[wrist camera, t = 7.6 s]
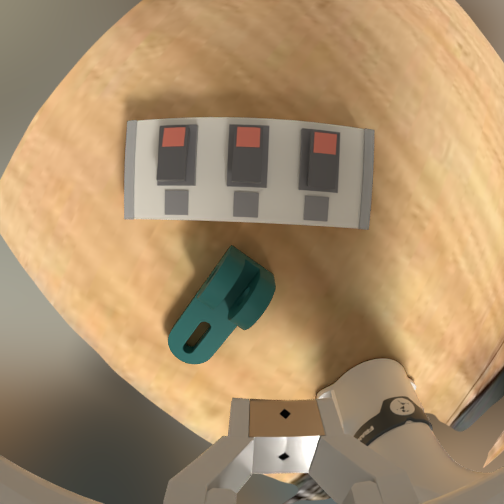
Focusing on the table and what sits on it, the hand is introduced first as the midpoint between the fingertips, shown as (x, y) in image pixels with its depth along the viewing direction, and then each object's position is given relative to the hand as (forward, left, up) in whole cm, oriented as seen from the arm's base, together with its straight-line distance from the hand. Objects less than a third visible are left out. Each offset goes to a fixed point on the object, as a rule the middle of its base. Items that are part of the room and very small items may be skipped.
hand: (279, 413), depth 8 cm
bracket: (-11, +6, -32) cm, 34 cm away
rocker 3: (+10, -6, -25) cm, 27 cm away
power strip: (+8, +2, -31) cm, 32 cm away
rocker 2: (+10, +2, -25) cm, 27 cm away
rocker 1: (+10, +10, -25) cm, 29 cm away
